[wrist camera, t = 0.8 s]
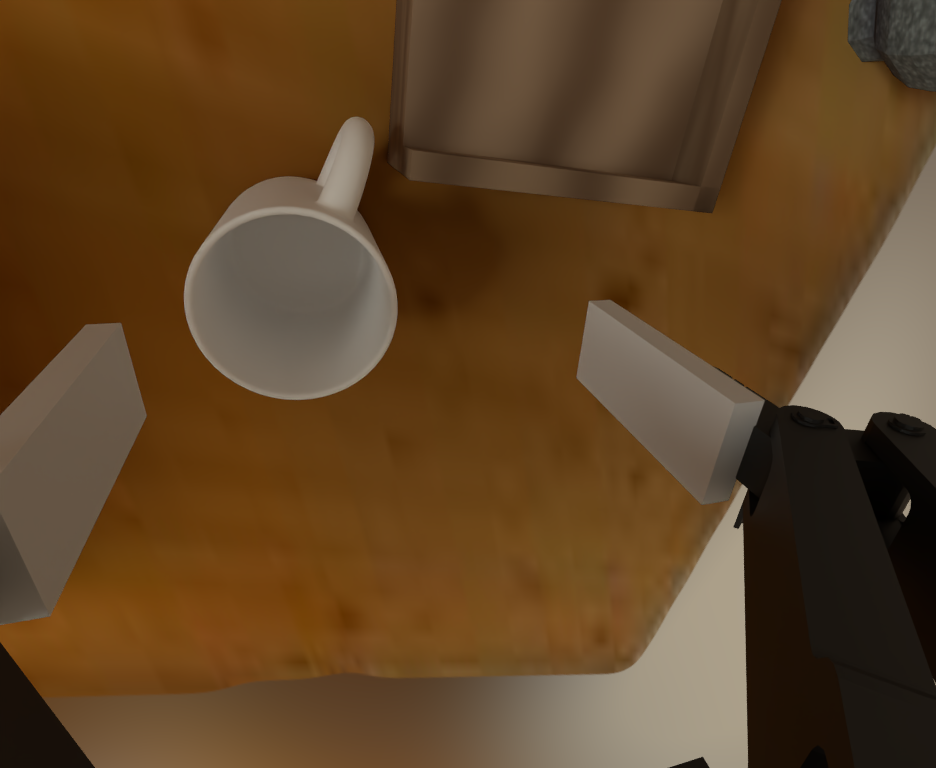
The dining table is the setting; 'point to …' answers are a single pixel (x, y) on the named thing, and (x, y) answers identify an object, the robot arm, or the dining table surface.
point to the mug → (296, 281)
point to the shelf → (576, 95)
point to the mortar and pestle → (897, 37)
